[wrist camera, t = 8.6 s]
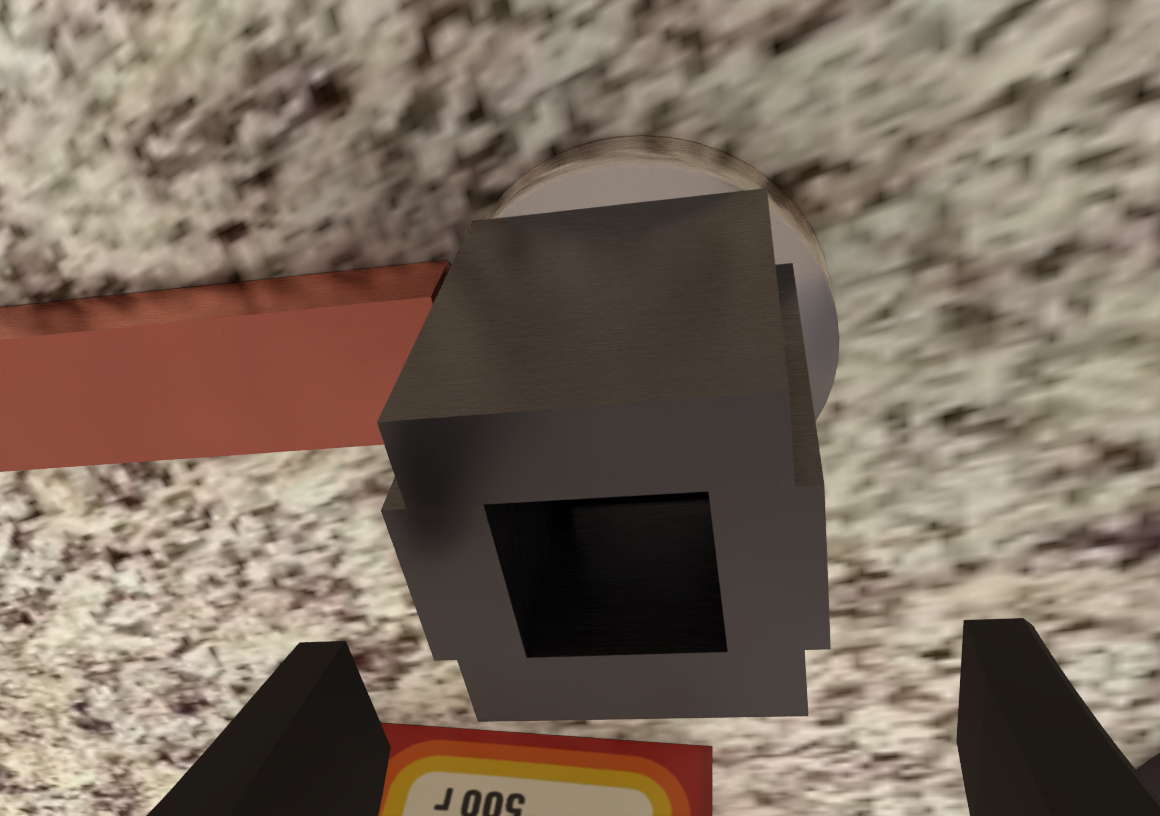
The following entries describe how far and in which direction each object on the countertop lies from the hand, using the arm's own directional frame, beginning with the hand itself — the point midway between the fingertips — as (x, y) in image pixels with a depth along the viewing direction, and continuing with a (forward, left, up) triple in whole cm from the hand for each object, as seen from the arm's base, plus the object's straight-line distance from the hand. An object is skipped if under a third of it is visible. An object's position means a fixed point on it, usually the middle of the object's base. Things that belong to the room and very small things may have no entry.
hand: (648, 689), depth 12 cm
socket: (0, +1, -8) cm, 8 cm away
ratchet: (0, +7, -9) cm, 12 cm away
